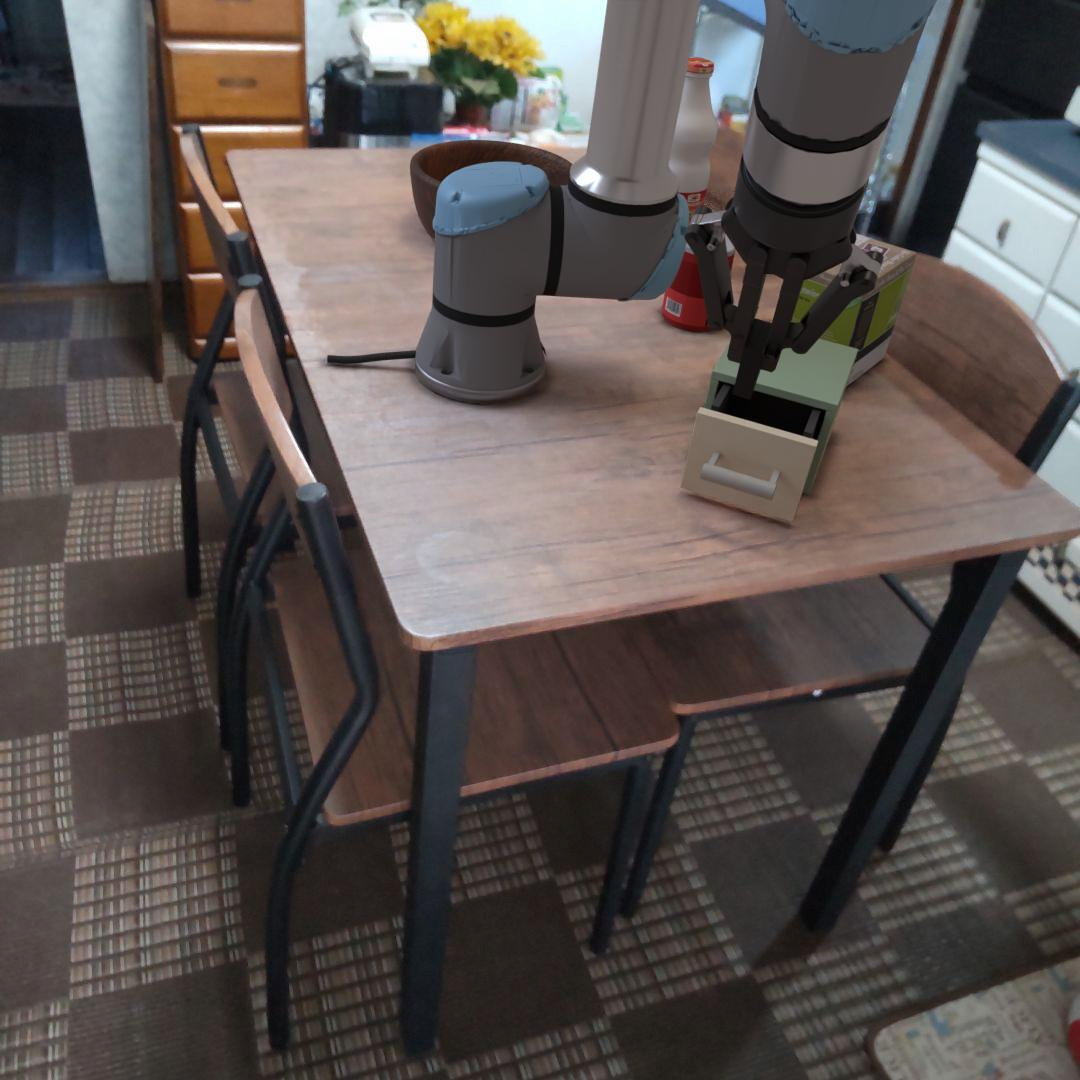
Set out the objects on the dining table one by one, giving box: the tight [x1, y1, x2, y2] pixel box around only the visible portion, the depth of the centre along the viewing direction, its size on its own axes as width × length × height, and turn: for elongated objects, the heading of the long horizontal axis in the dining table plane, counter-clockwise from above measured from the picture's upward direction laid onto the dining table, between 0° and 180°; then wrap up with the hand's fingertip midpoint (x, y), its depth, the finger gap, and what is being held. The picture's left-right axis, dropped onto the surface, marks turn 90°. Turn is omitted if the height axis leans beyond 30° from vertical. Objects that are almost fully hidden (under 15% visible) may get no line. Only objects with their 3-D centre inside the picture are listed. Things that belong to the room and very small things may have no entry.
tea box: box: [791, 233, 918, 387], centre depth 123 cm, size 15×10×15 cm
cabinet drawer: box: [680, 382, 823, 523], centre depth 100 cm, size 17×12×9 cm
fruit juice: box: [668, 55, 718, 224], centre depth 141 cm, size 9×9×28 cm
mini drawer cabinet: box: [703, 339, 858, 495], centre depth 107 cm, size 14×13×11 cm
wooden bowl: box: [409, 139, 573, 241], centre depth 148 cm, size 25×25×10 cm
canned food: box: [661, 235, 736, 332], centre depth 131 cm, size 8×8×11 cm
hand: (746, 383), depth 79 cm, fingers closed
